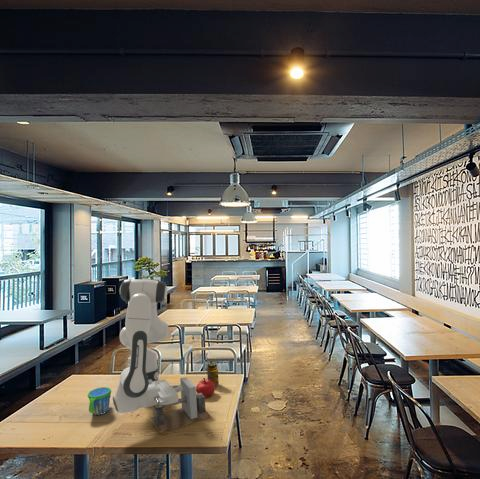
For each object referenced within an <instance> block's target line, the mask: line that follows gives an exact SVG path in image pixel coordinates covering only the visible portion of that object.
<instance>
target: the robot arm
mask: <svg viewBox="0 0 480 479" xmlns="http://www.w3.org/2000/svg"><path fill="white" fill-rule="evenodd" d="M119 295H120V298H121V299H122V301H124V302H125V304H128V305H127V308H126V312H125V322H124V325H125V326H124V327H122V328H121V330H120V331H119V342H120V343H121V344H122V345H123V346H124V347H126V348H128V349H129V350H130V361H129V366H128V367H125V368H124V369H123V370H122V371H121V373H120V375H119V379H118V380H119V381H118V384H117V388H116V390H115V392H114V394H113V396H112V401H113V406H114V409H115V410H116V412H117V413H118V414H125V413H131V412H135V411H136V412H137V411H138V410H139V409H145V408H150V407H153V406H154V405H158V404H161V405H168V404H172V403H176V402H178V399H179V392H181V391H182V390H183V387H182V386H181V384H170V383H169V382H168V380H166V379H160V378H159V367H158V355H157V353H156V351H154V350H153V349H151V348H147V347H148V344H151V343H157V342H160V341H164V340H166V339H167V338H168V337H169V335H170V334H169V333H170V327H169V325H168V323H167V322H166V321H164V320H162V319H160V317H159V316H158V309H157V308H158V307H157V304H159V303H162V302H164V301H165V299H166V297H167V296H168V288H167V284H166V283H165V282H164V281H162V280H154V279H147V278H146V279H145V278H144V279H142V278H141V279H138V278H137V279H136V278H135V279H132V278H129V279H128V278H127V279H124V280H123V281H122V282H121V284H120V286H119Z"/></svg>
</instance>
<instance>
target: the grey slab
mask: <svg viewBox="0 0 480 479" xmlns="http://www.w3.org/2000/svg"><path fill="white" fill-rule="evenodd" d="M179 381H180V385H181V386H182V387H183V390H182V391H180V394H181V395H180V396H181V398H184V397H187V402H184V403H181V408H183V410H184V411H185V412H186V414H187V415H188V416H189V417H190V419H194V418H197V401H196V394H197V392H196V386H197V385H195V384H194V383H193V382H192V381H191V380H190V379H189V378H188V377H187V376H185V377H181V378H180V380H179ZM181 398H180V399H181Z"/></svg>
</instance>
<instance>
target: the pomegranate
mask: <svg viewBox="0 0 480 479" xmlns="http://www.w3.org/2000/svg"><path fill="white" fill-rule="evenodd" d="M195 386H196V394H199V393H202V394H203V395H204V396H205V398H208V397H209V398H210V397H211V396H213V394H215V390H216V388H215V384H214V382H212V380H211V381H210V380H208V377H207V378H205V377H202V378H201V380H200V381H198V383H197V384H196V385H195Z"/></svg>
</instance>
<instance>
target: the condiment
mask: <svg viewBox="0 0 480 479" xmlns="http://www.w3.org/2000/svg"><path fill="white" fill-rule="evenodd" d="M206 371H207V372H206V375H207V376H206V377H207V378H208V379H207V381H208V380H210V381H211V380H212V382H214V384H215V389H217V388H218V387H221V386H222V384H220V383H219V368H218V364H217V363H216V362H211V363H210V362H209V363H208V364H207V370H206Z"/></svg>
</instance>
